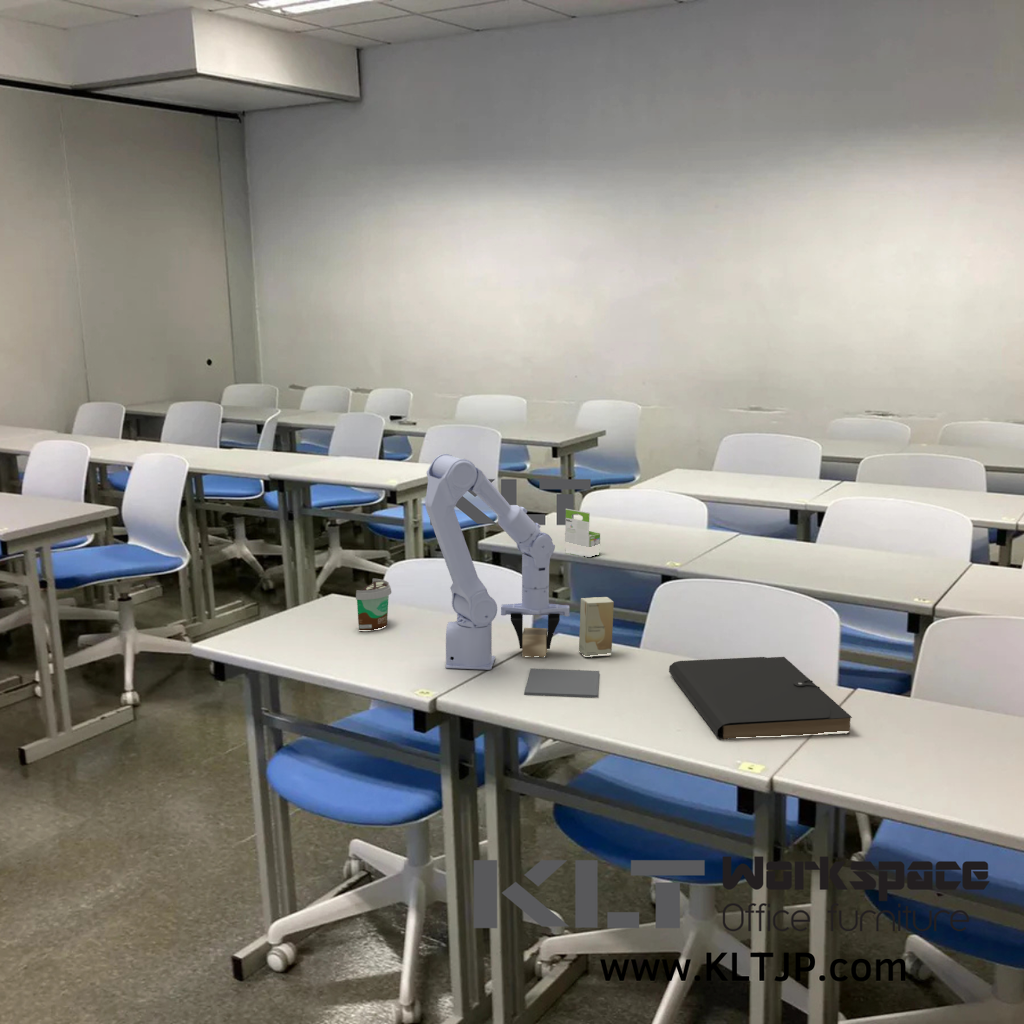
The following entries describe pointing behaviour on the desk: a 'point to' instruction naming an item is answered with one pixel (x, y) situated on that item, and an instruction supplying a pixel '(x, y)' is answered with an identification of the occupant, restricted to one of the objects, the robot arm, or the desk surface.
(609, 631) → the skincare box
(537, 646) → the maple cube
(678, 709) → the desk surface
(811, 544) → the desk surface
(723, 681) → the file folder
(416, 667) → the desk surface
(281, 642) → the desk surface
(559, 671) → the charcoal mat
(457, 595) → the robot arm
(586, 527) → the ink box
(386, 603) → the food container
